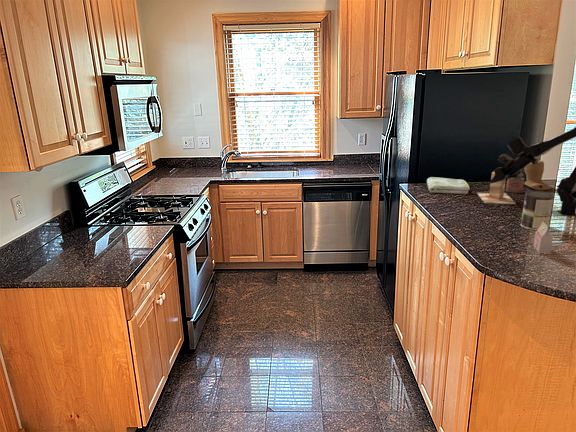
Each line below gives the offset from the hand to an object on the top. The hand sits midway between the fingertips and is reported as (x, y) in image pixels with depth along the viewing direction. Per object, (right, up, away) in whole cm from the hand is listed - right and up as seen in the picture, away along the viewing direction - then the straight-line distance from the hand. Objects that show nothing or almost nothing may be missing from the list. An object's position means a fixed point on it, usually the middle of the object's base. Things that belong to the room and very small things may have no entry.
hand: (495, 181), depth 219 cm
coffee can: (-2, -22, -38) cm, 44 cm away
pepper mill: (+1, -8, +2) cm, 8 cm away
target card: (+1, -9, +2) cm, 9 cm away
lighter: (+17, -5, +14) cm, 23 cm away
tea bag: (-13, -30, -62) cm, 70 cm away
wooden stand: (+31, -2, +21) cm, 38 cm away
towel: (-16, -3, +22) cm, 28 cm away
